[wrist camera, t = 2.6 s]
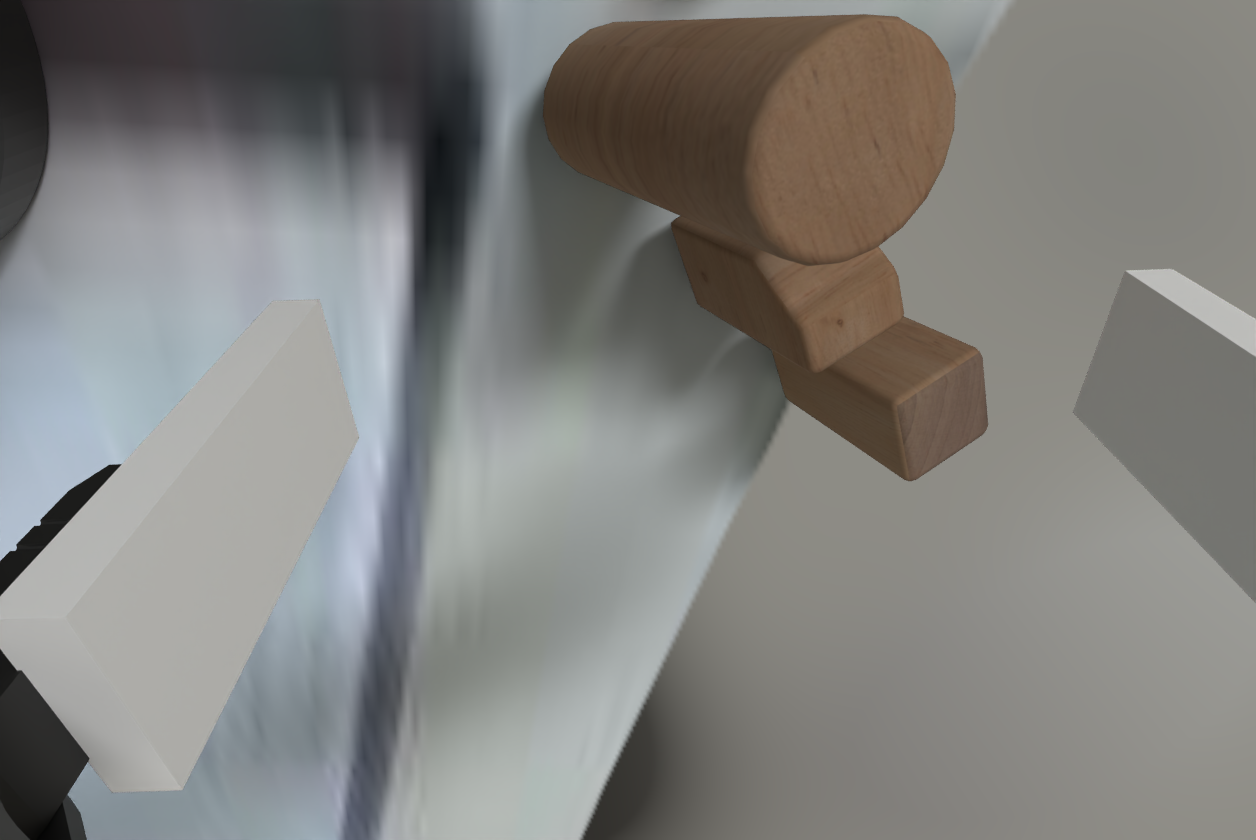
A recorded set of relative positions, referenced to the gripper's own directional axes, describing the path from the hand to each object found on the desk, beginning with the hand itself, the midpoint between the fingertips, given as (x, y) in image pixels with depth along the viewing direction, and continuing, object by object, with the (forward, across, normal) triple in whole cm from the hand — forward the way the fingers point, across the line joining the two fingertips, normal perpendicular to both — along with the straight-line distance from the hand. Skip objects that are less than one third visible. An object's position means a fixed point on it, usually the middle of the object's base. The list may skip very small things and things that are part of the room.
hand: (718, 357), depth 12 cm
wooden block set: (+12, +2, +1) cm, 12 cm away
